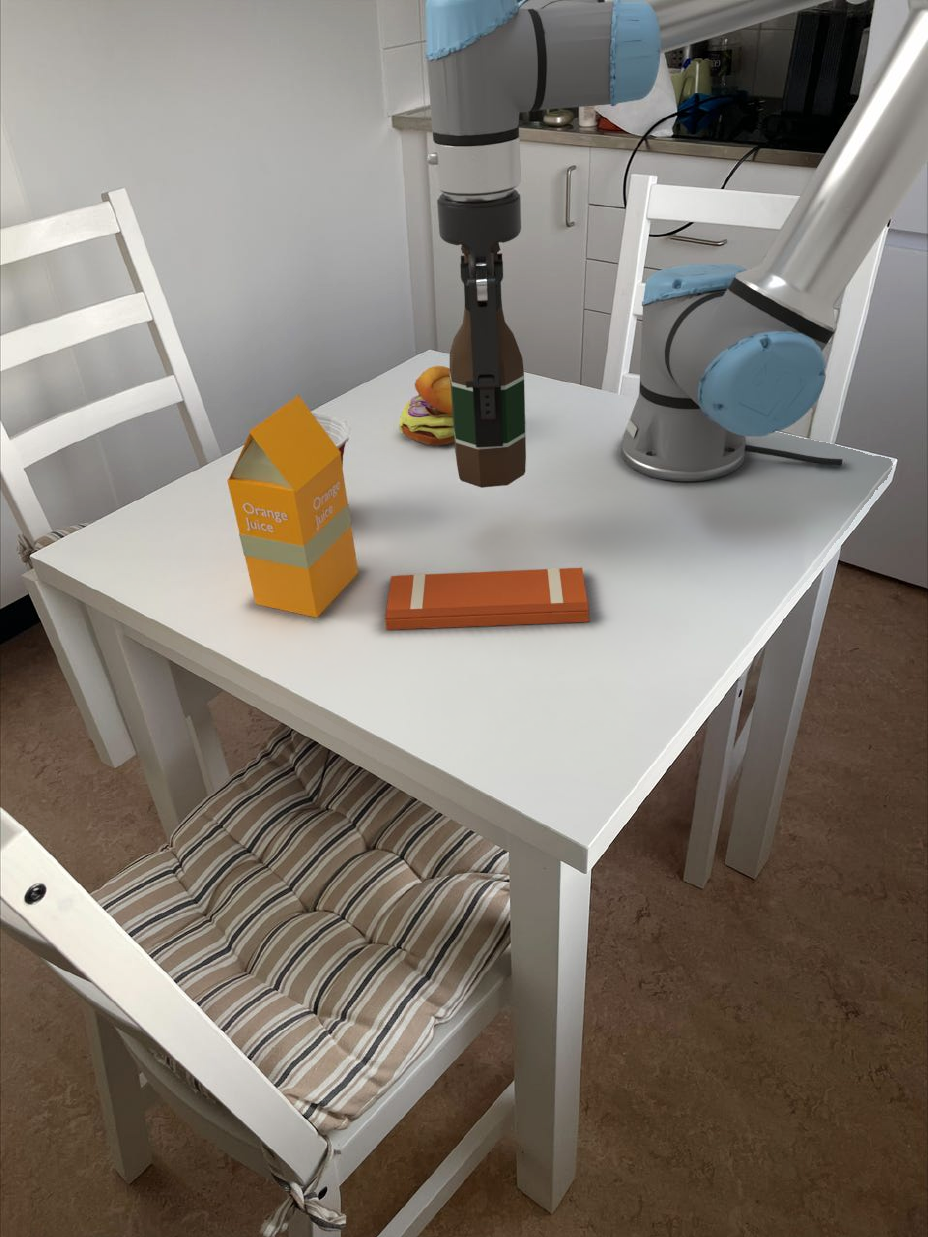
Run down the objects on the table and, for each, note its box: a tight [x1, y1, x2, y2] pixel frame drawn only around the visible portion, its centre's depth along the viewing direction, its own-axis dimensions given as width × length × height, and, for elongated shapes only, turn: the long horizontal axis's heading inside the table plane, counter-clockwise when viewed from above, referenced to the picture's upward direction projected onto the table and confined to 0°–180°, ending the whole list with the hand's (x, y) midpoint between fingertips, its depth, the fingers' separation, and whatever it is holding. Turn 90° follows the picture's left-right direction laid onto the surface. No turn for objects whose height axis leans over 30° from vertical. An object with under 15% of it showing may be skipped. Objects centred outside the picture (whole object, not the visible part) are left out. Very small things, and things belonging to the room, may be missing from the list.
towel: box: [384, 567, 590, 631], centre depth 96 cm, size 20×8×1 cm, turn 89°
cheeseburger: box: [398, 365, 455, 446], centre depth 128 cm, size 10×11×10 cm
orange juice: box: [226, 395, 359, 618], centre depth 95 cm, size 8×9×20 cm
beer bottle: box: [449, 242, 527, 489], centre depth 94 cm, size 8×8×24 cm
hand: (489, 427), depth 98 cm, fingers closed on beer bottle, 7 cm apart
